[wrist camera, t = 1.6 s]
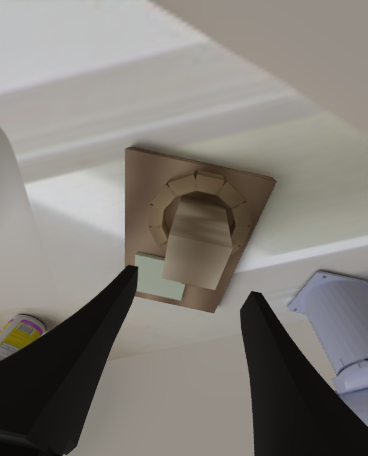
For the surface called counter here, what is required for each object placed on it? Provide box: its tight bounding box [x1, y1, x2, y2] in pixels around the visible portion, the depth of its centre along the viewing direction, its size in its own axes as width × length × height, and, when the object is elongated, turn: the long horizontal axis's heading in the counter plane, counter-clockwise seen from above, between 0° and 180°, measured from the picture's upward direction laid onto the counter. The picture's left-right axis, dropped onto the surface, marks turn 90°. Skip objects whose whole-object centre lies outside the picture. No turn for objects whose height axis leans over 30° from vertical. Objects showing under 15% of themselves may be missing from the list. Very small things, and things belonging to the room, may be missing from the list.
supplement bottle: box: [0, 315, 45, 361], centre depth 33 cm, size 7×7×13 cm
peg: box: [162, 196, 233, 290], centre depth 16 cm, size 4×4×7 cm
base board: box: [125, 147, 277, 313], centre depth 22 cm, size 14×21×3 cm, turn 170°
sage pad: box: [135, 252, 185, 301], centre depth 24 cm, size 7×7×1 cm
